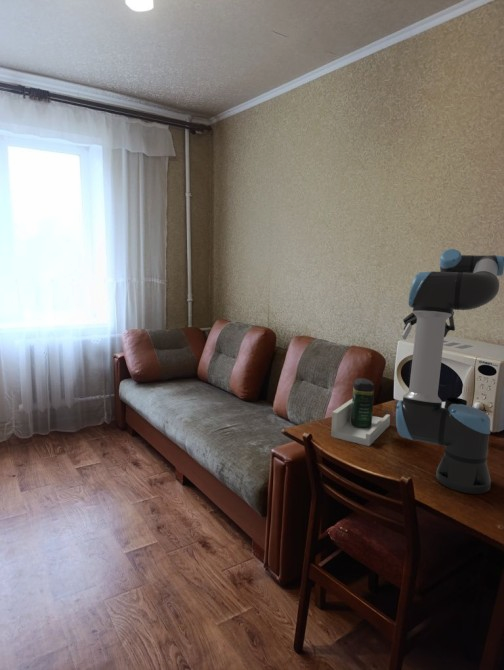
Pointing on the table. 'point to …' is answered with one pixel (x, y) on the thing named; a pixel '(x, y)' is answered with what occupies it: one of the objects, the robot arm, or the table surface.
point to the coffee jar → (362, 403)
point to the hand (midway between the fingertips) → (419, 340)
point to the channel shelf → (348, 432)
